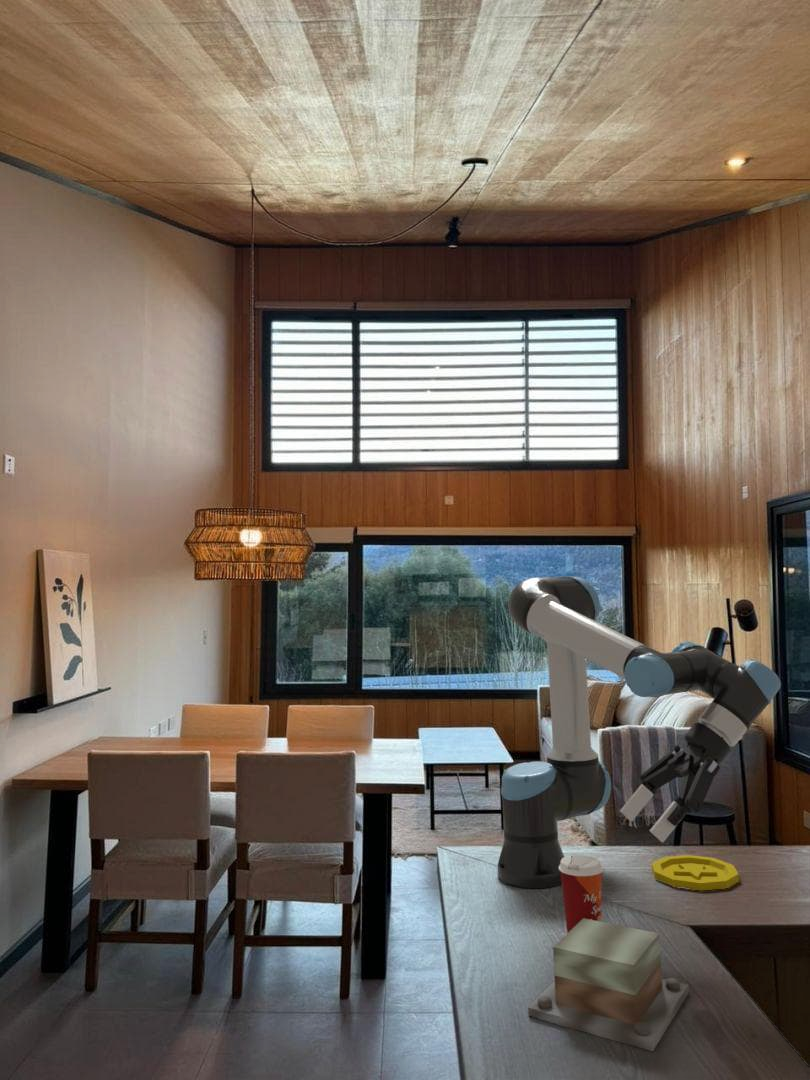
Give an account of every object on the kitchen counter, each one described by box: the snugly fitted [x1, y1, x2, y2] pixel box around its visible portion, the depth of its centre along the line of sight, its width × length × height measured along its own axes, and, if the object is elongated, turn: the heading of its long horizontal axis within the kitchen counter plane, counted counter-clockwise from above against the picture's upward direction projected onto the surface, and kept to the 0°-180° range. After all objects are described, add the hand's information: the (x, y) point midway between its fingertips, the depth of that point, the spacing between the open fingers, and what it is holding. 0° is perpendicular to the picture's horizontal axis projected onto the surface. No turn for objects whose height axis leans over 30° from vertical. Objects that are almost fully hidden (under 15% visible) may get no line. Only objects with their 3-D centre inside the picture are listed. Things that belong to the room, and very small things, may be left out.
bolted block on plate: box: [527, 918, 690, 1052], centre depth 118 cm, size 18×18×9 cm
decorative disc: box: [651, 854, 740, 891], centre depth 169 cm, size 17×18×2 cm
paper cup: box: [559, 854, 604, 934], centre depth 140 cm, size 8×8×14 cm
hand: (640, 826), depth 141 cm, fingers open, 13 cm apart
